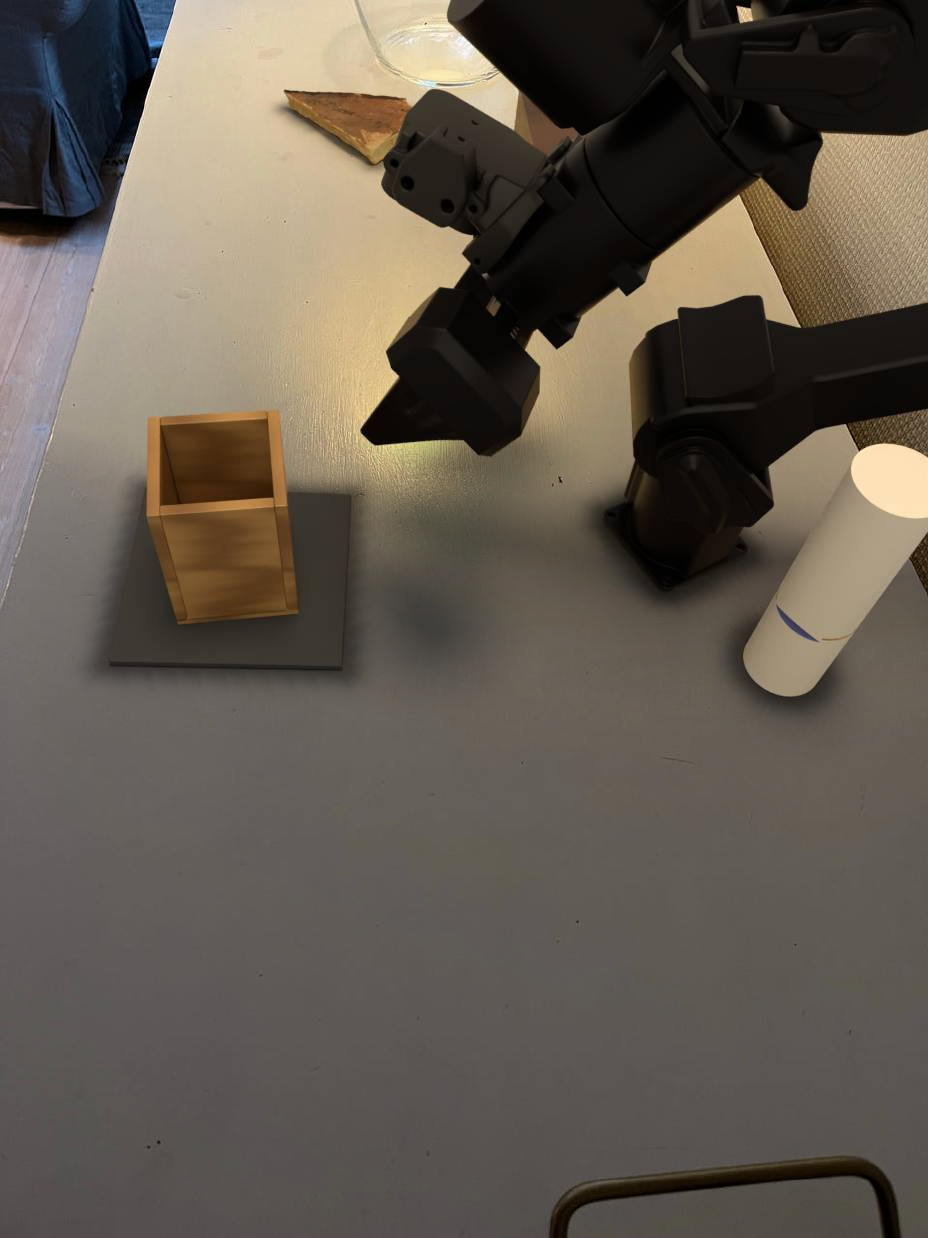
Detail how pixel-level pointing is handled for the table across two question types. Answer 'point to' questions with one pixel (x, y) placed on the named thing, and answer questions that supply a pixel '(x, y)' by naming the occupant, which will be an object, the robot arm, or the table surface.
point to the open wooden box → (221, 515)
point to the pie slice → (355, 118)
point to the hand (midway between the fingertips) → (398, 387)
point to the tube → (841, 568)
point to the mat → (252, 641)
